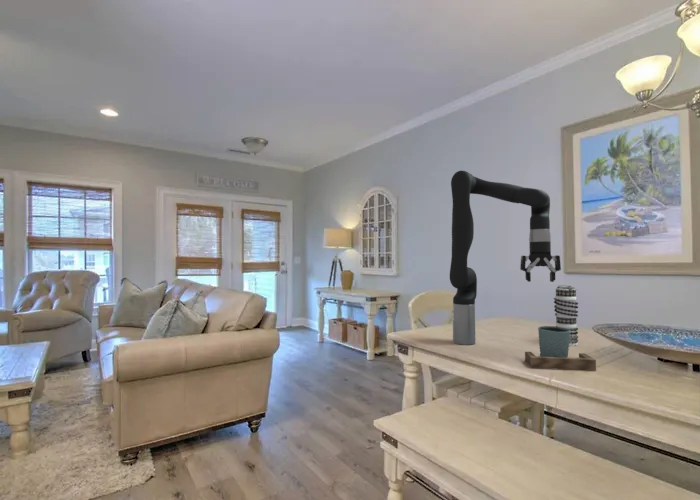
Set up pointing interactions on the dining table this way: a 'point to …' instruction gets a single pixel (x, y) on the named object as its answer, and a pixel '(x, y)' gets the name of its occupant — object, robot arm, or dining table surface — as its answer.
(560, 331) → the teal cup
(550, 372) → the dining table surface
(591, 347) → the dining table surface
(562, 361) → the walnut rail
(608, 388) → the dining table surface
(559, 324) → the decorative candle
